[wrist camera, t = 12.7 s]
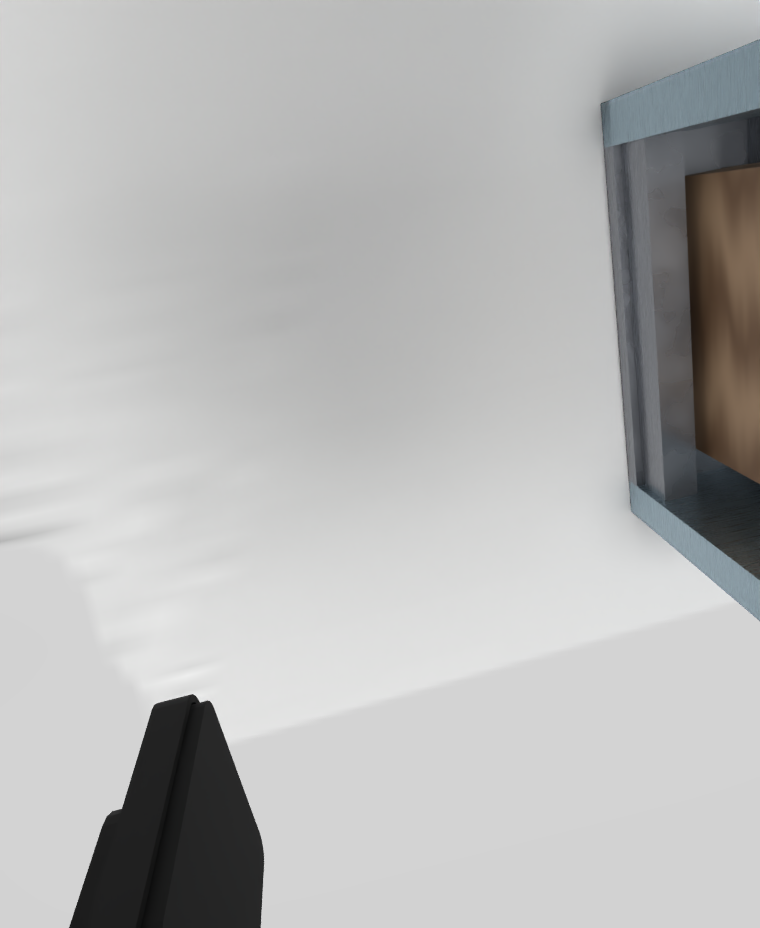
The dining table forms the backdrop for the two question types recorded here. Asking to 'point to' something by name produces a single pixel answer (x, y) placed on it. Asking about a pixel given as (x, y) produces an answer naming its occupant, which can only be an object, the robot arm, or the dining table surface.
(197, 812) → the robot arm
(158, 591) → the dining table surface
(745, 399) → the brown rectangular block
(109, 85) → the dining table surface
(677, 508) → the door track
